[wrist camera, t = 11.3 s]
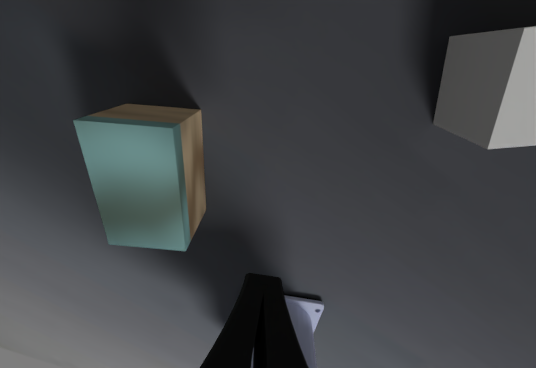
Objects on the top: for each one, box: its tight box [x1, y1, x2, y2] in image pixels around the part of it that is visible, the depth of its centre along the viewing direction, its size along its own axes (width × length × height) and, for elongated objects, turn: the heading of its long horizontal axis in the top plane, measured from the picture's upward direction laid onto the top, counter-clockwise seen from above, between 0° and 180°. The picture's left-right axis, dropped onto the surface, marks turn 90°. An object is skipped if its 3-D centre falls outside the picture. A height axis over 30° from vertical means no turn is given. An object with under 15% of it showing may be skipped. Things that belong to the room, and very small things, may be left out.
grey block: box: [433, 26, 536, 149], centre depth 13 cm, size 5×5×5 cm
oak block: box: [73, 104, 206, 251], centre depth 16 cm, size 8×5×5 cm, turn 176°
